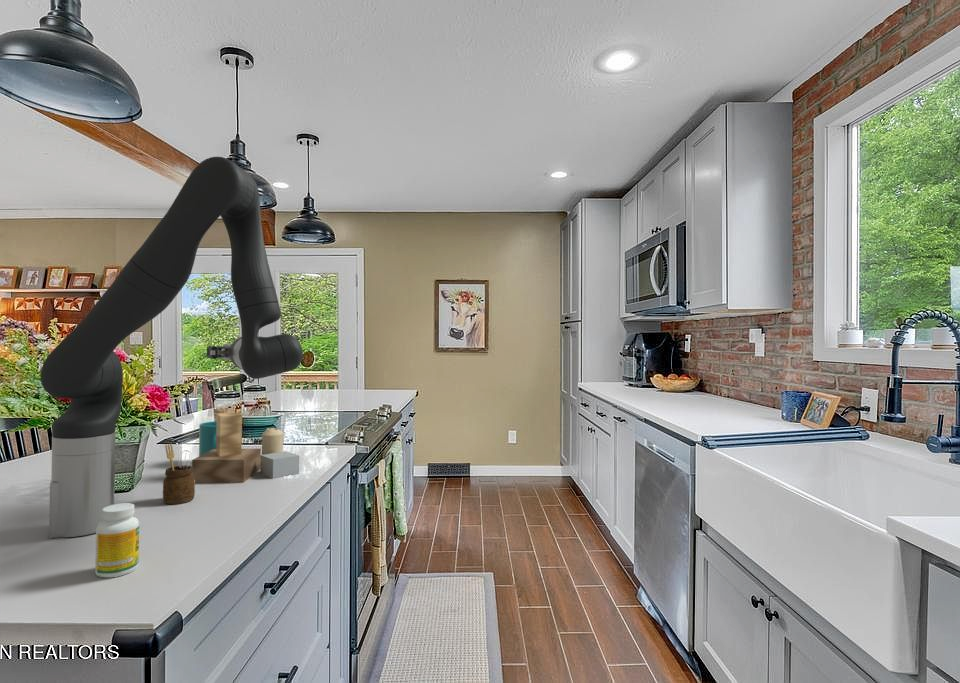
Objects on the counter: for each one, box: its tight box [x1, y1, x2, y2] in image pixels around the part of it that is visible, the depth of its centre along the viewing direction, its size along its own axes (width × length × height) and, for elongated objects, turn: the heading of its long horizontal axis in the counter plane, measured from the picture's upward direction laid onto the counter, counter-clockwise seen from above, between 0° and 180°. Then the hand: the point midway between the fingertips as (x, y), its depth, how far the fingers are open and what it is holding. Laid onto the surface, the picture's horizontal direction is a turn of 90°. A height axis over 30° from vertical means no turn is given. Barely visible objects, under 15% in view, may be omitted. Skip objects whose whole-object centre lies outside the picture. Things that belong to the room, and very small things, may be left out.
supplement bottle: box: [94, 502, 140, 578], centre depth 79 cm, size 5×5×10 cm
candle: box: [261, 427, 284, 455], centre depth 147 cm, size 6×6×10 cm
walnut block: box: [191, 448, 262, 484], centre depth 134 cm, size 12×13×6 cm
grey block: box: [259, 450, 300, 480], centre depth 137 cm, size 7×7×5 cm
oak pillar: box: [216, 412, 243, 457], centre depth 134 cm, size 5×5×10 cm
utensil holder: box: [162, 443, 196, 505], centre depth 113 cm, size 6×6×12 cm
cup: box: [198, 420, 217, 457], centre depth 145 cm, size 9×12×11 cm
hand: (237, 351), depth 123 cm, fingers open, 8 cm apart
